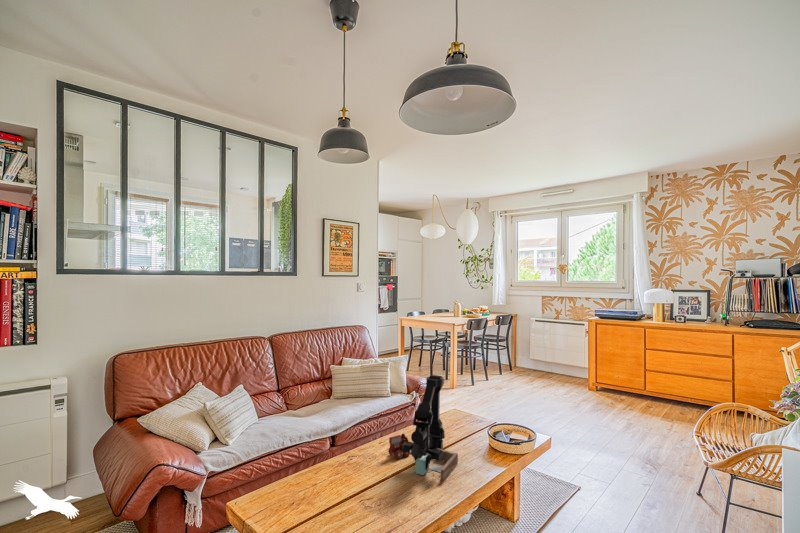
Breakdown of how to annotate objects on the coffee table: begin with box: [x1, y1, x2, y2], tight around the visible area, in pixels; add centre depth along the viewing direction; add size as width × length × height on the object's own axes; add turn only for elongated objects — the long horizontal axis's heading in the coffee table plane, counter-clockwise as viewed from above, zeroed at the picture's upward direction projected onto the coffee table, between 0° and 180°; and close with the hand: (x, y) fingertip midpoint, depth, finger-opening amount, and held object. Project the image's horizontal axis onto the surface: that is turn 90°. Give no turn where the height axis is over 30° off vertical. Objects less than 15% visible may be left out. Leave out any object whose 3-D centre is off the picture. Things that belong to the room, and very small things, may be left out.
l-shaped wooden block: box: [429, 448, 459, 482], centre depth 184 cm, size 11×19×5 cm, turn 152°
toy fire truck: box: [387, 433, 411, 460], centre depth 197 cm, size 7×12×10 cm, turn 126°
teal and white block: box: [414, 454, 430, 476], centre depth 181 cm, size 7×4×6 cm, turn 152°
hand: (422, 468), depth 181 cm, fingers closed on teal and white block, 4 cm apart
